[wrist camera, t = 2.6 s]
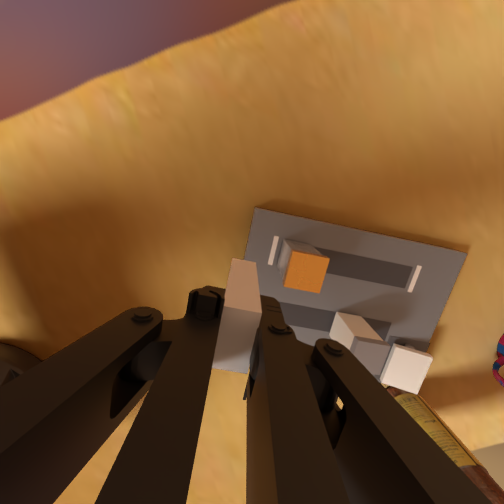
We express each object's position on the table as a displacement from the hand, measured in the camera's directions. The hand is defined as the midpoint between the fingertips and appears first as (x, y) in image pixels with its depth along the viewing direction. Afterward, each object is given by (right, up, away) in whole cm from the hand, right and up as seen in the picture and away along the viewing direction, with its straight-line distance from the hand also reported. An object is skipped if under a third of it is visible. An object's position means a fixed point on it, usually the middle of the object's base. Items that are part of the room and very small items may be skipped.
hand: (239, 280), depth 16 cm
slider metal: (+5, +1, +11) cm, 12 cm away
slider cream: (+12, -7, +13) cm, 19 cm away
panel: (+11, -4, +15) cm, 19 cm away
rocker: (+19, -12, +15) cm, 27 cm away
